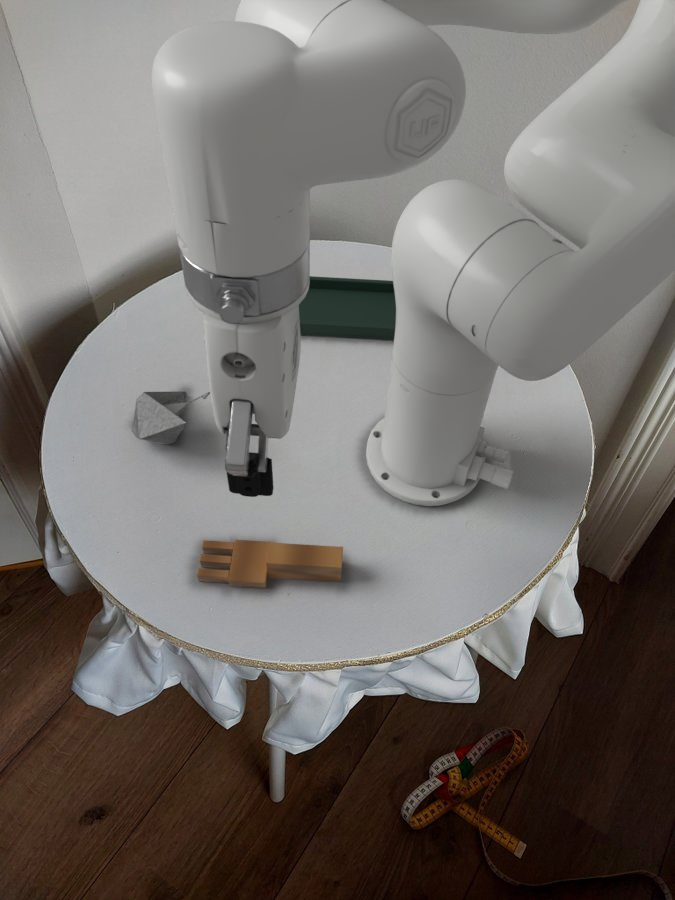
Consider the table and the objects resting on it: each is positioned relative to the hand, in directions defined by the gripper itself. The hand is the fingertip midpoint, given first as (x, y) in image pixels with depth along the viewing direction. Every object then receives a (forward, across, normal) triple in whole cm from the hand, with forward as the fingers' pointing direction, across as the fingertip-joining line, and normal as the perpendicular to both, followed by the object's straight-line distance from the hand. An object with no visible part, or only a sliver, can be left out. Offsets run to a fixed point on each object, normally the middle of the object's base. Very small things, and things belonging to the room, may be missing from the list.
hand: (260, 439), depth 56 cm
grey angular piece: (+18, +14, +12) cm, 26 cm away
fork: (+18, -2, 0) cm, 18 cm away
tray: (+17, +34, -4) cm, 39 cm away
